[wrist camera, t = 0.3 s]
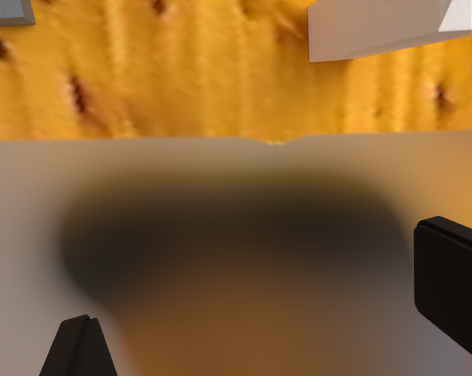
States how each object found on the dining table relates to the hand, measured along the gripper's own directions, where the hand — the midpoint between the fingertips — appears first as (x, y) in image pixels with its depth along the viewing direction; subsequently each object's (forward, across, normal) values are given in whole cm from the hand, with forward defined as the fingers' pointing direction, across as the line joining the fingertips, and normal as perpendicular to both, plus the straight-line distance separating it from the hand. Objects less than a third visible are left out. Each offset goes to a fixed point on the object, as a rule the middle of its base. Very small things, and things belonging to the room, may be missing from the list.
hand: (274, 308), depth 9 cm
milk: (+31, -20, -10) cm, 38 cm away
